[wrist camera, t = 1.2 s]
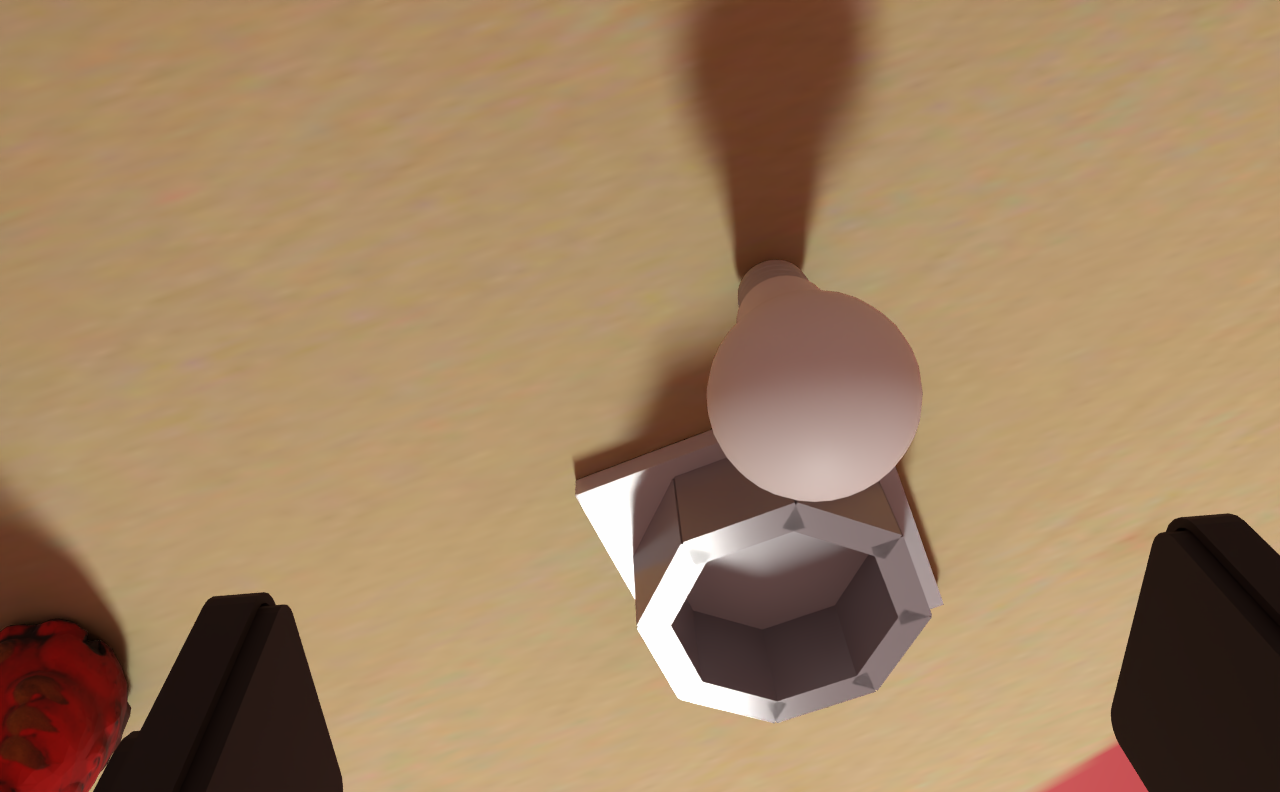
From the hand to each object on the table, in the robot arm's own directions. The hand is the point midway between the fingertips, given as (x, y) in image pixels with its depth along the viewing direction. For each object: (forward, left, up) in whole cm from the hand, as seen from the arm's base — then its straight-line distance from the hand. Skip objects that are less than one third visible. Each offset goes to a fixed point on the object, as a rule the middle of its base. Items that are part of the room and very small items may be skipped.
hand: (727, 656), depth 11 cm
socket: (+2, +19, -24) cm, 31 cm away
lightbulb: (-2, +8, -24) cm, 26 cm away
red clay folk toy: (+33, +13, -24) cm, 43 cm away
